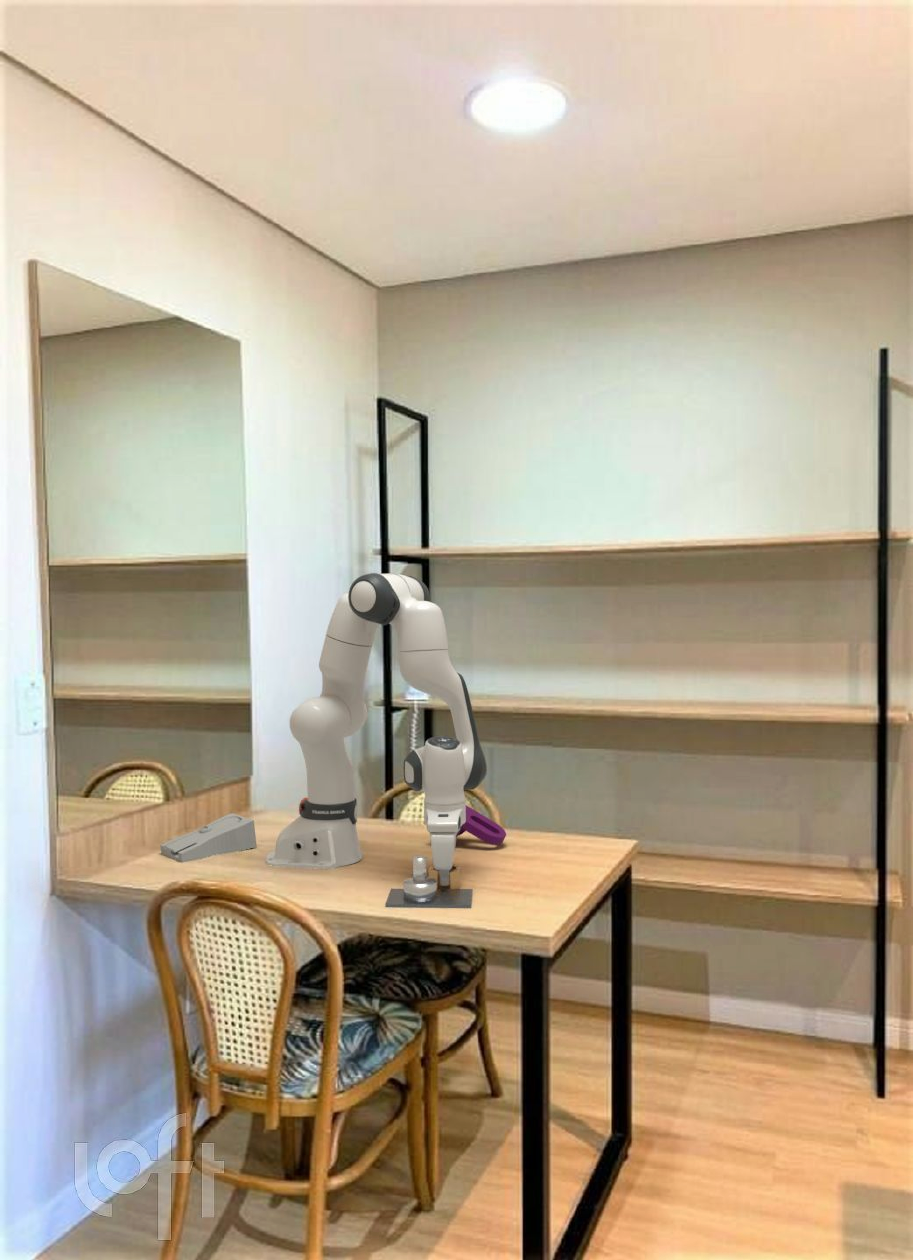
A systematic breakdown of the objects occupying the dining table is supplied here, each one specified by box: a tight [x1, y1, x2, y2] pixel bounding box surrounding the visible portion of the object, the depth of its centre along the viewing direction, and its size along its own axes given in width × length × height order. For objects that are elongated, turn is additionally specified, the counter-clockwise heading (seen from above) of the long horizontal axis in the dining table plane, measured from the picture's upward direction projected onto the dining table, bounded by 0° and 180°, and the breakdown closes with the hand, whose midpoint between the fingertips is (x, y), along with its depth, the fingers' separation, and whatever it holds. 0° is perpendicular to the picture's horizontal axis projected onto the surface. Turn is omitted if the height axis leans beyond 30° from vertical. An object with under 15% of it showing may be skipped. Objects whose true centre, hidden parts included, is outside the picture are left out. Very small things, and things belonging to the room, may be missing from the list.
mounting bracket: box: [456, 804, 507, 846], centre depth 244 cm, size 9×8×18 cm
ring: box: [428, 863, 462, 889], centre depth 208 cm, size 7×7×4 cm
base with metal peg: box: [384, 855, 474, 909], centre depth 198 cm, size 17×10×9 cm, turn 87°
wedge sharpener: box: [160, 812, 257, 864], centre depth 239 cm, size 11×20×7 cm, turn 132°
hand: (445, 878), depth 207 cm, fingers closed on ring, 6 cm apart
